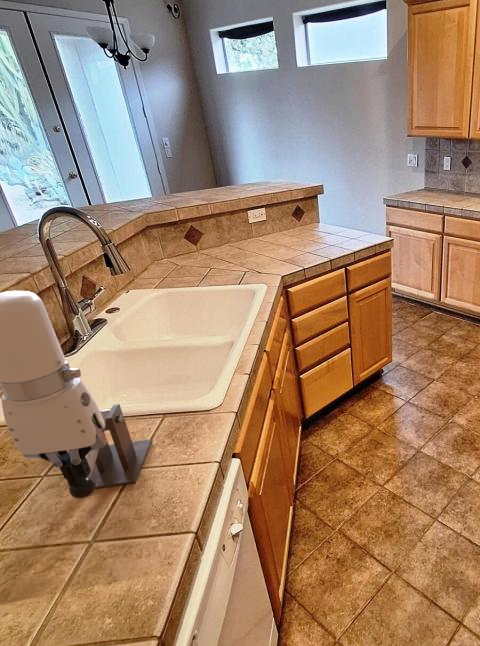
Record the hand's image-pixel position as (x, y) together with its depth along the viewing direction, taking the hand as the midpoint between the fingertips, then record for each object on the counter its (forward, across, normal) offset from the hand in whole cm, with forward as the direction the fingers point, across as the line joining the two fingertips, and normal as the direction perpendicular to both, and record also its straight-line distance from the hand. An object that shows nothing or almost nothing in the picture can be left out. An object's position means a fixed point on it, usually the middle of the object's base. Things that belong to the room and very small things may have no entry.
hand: (80, 479), depth 68 cm
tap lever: (+1, 0, -7) cm, 7 cm away
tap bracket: (+9, 0, -12) cm, 15 cm away
